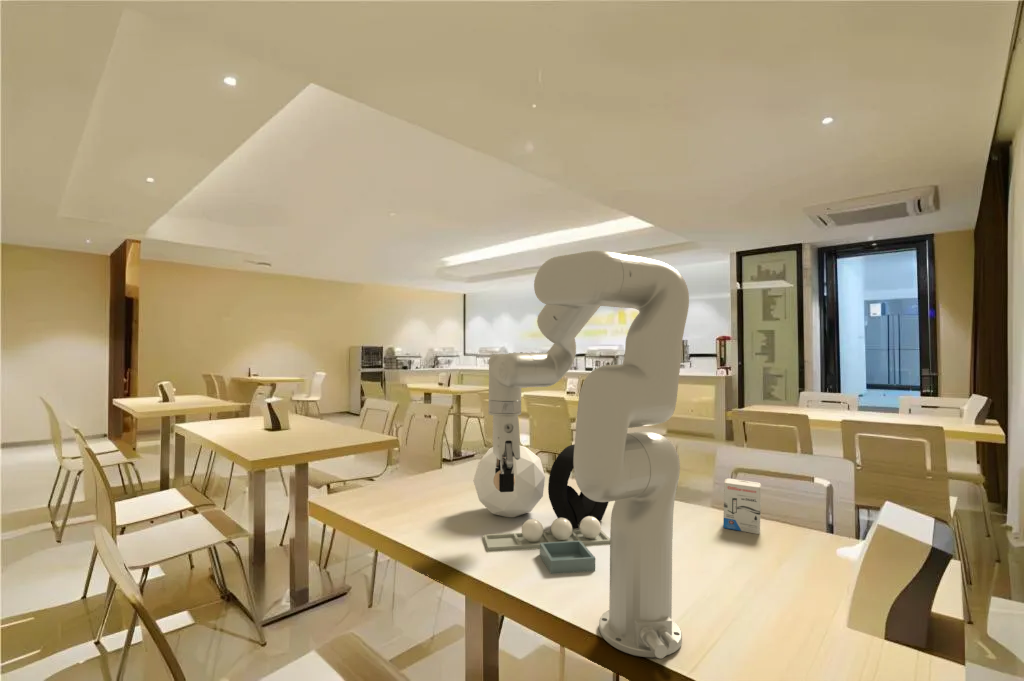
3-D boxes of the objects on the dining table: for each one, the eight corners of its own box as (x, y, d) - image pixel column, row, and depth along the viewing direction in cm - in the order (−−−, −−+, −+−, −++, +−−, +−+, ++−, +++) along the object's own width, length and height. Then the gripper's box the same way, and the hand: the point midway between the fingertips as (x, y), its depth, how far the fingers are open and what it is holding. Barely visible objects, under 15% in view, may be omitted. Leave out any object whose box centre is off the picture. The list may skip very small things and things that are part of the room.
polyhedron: (489, 540, 132) (449, 476, 136) (538, 500, 145) (501, 443, 149) (520, 524, 118) (475, 454, 122) (572, 482, 131) (530, 419, 135)
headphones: (564, 535, 118) (565, 452, 119) (545, 527, 123) (547, 447, 124) (614, 520, 130) (615, 444, 130) (595, 513, 135) (596, 440, 135)
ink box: (722, 528, 125) (723, 482, 125) (724, 522, 130) (724, 477, 130) (760, 534, 121) (760, 486, 121) (760, 528, 126) (761, 482, 126)
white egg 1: (545, 544, 111) (545, 522, 111) (523, 546, 110) (524, 523, 110) (540, 536, 116) (540, 515, 116) (519, 537, 115) (519, 516, 115)
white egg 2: (575, 543, 112) (575, 521, 112) (554, 544, 111) (554, 522, 111) (568, 535, 117) (568, 514, 117) (548, 536, 116) (548, 515, 116)
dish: (595, 573, 98) (595, 558, 98) (550, 576, 97) (551, 560, 97) (580, 554, 107) (580, 540, 107) (539, 556, 106) (539, 542, 106)
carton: (613, 546, 112) (613, 541, 112) (487, 554, 106) (487, 548, 106) (599, 532, 121) (599, 527, 121) (481, 538, 115) (482, 533, 115)
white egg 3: (604, 541, 114) (604, 519, 114) (583, 542, 113) (583, 520, 113) (596, 533, 119) (596, 512, 119) (576, 534, 118) (576, 513, 118)
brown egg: (517, 494, 110) (517, 471, 110) (495, 495, 109) (495, 472, 109) (512, 488, 114) (513, 466, 115) (491, 489, 114) (491, 467, 114)
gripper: (529, 411, 105) (528, 498, 104) (513, 404, 121) (513, 478, 121) (494, 412, 103) (493, 499, 103) (483, 404, 120) (483, 479, 119)
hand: (504, 487), depth 112 cm, fingers closed on brown egg, 4 cm apart
